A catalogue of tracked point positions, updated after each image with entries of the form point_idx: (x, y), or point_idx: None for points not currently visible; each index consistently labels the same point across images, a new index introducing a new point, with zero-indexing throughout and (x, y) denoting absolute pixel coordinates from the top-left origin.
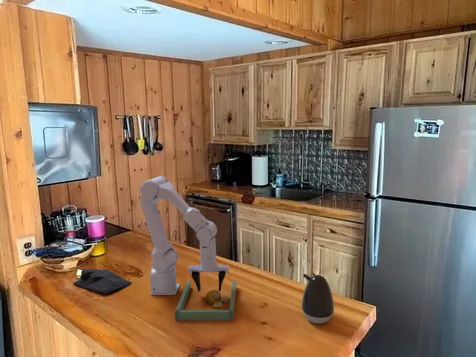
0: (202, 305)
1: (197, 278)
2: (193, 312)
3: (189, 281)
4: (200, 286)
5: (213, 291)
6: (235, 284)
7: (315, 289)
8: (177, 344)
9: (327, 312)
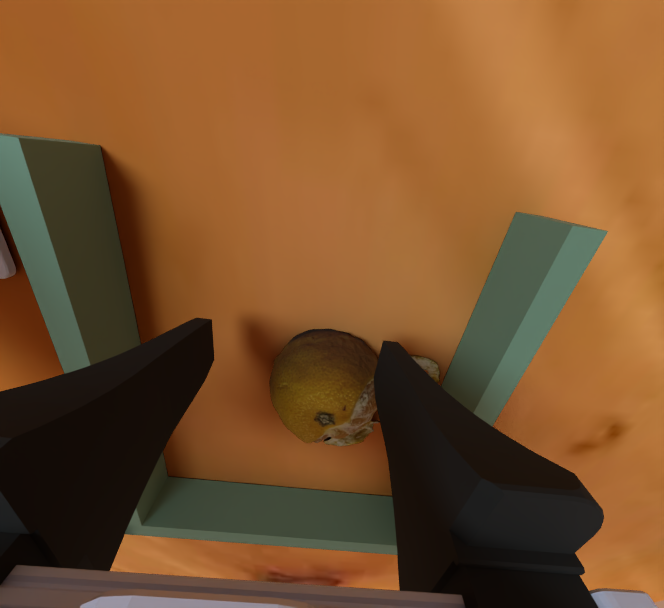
0: (261, 406)
1: (114, 538)
2: (223, 539)
3: (22, 169)
4: (201, 334)
5: (329, 420)
6: (554, 321)
7: None
8: (207, 563)
9: None
